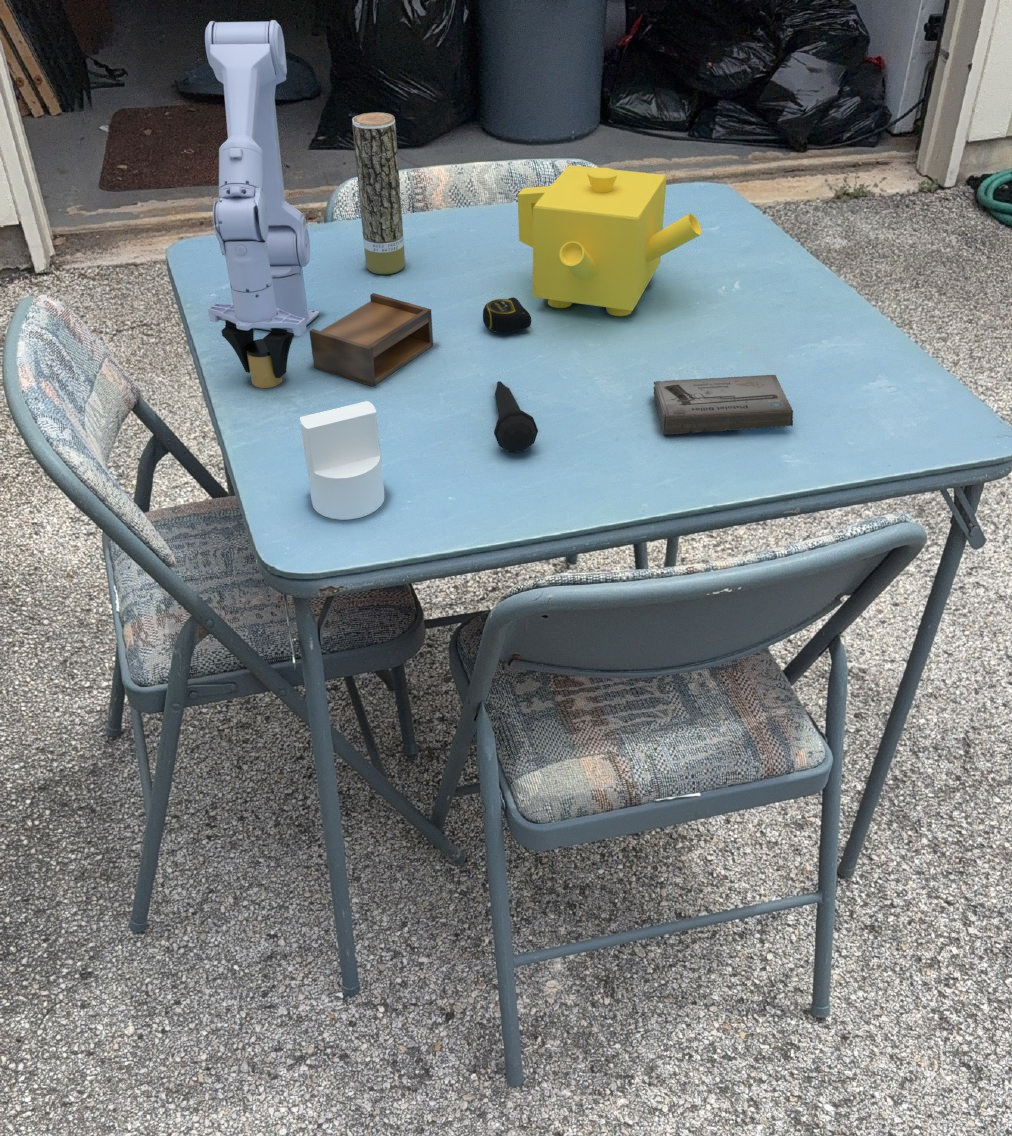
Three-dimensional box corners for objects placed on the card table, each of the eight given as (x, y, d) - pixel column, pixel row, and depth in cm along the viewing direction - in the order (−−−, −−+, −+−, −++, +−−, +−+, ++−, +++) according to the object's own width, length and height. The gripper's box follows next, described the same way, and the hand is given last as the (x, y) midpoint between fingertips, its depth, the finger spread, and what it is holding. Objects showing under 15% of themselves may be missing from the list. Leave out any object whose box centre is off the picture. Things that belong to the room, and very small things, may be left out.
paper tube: (413, 265, 197) (403, 116, 181) (389, 279, 192) (377, 128, 177) (382, 257, 200) (369, 110, 184) (358, 270, 195) (343, 121, 180)
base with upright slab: (325, 527, 136) (313, 441, 129) (302, 489, 143) (290, 406, 135) (395, 508, 139) (387, 423, 132) (370, 471, 146) (361, 389, 138)
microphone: (488, 407, 164) (506, 466, 147) (474, 372, 161) (491, 429, 144) (523, 393, 164) (546, 451, 147) (510, 358, 161) (531, 413, 144)
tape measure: (532, 334, 176) (532, 311, 173) (490, 340, 174) (490, 318, 172) (518, 315, 181) (518, 293, 178) (477, 322, 179) (477, 299, 177)
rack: (313, 367, 168) (309, 330, 164) (376, 328, 178) (373, 292, 174) (372, 386, 163) (368, 349, 160) (433, 345, 173) (431, 309, 169)
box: (792, 430, 151) (795, 409, 149) (663, 436, 151) (664, 416, 149) (775, 392, 160) (777, 372, 158) (652, 398, 160) (653, 378, 158)
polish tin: (245, 385, 164) (239, 350, 161) (261, 371, 167) (255, 336, 164) (273, 390, 163) (267, 355, 159) (288, 376, 166) (283, 341, 163)
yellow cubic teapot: (671, 355, 170) (682, 224, 157) (485, 329, 177) (482, 201, 165) (714, 264, 196) (727, 145, 183) (551, 244, 203) (552, 128, 191)
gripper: (189, 288, 155) (207, 376, 163) (283, 303, 151) (296, 393, 159) (217, 268, 160) (233, 354, 169) (308, 282, 156) (320, 370, 164)
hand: (265, 372), depth 164 cm, fingers closed on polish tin, 4 cm apart
